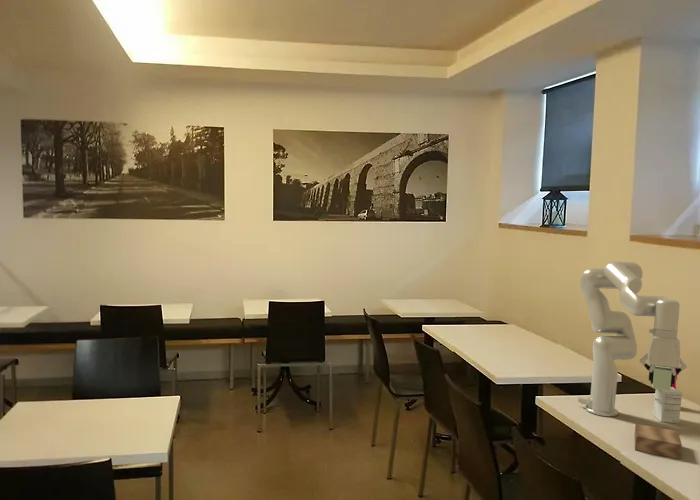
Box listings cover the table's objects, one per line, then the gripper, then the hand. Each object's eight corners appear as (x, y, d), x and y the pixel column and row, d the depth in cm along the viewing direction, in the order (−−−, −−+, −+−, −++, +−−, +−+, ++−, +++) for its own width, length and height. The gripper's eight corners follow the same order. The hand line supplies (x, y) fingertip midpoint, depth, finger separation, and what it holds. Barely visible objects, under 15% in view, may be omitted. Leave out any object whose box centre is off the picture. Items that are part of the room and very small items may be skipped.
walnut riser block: (634, 450, 213) (636, 436, 212) (634, 436, 226) (635, 423, 225) (680, 459, 207) (681, 444, 207) (676, 444, 220) (678, 431, 220)
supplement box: (652, 415, 251) (655, 385, 250) (670, 416, 251) (673, 386, 250) (660, 422, 244) (663, 391, 243) (679, 423, 243) (682, 392, 242)
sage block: (652, 388, 217) (654, 368, 216) (651, 384, 222) (653, 365, 221) (670, 390, 214) (671, 370, 214) (668, 386, 219) (670, 367, 219)
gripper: (639, 332, 217) (635, 383, 218) (694, 338, 210) (689, 390, 211) (638, 329, 224) (634, 378, 225) (691, 335, 217) (687, 385, 218)
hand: (661, 383), depth 218 cm, fingers closed on sage block, 5 cm apart
